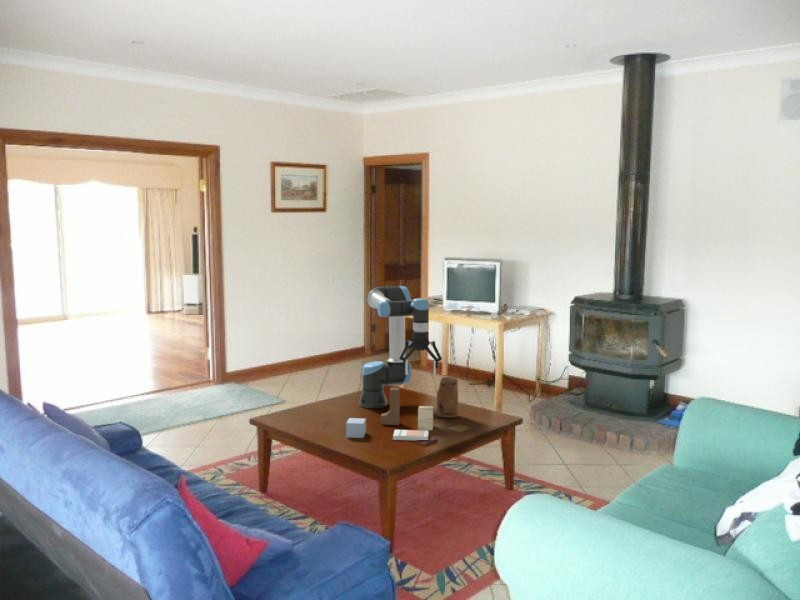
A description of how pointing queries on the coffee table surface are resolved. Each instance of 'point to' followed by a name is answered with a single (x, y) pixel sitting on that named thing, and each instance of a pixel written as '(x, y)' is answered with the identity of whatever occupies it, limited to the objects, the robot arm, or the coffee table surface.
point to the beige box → (425, 418)
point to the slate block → (356, 427)
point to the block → (447, 398)
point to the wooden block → (392, 409)
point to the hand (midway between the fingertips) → (420, 374)
